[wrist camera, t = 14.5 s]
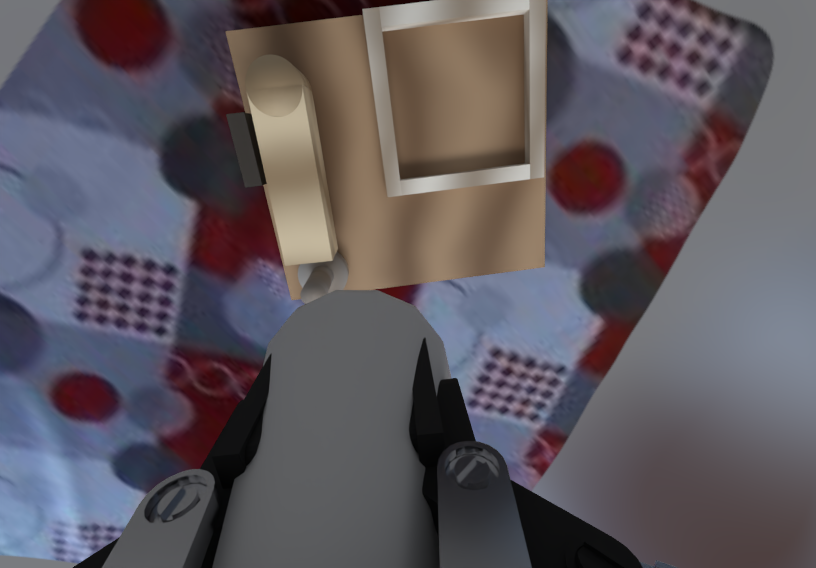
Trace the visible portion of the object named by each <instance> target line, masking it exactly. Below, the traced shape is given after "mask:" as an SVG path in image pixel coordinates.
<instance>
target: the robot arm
mask: <svg viewBox="0 0 816 568" xmlns="http://www.w3.org/2000/svg"><path fill="white" fill-rule="evenodd" d="M271 356H272V354H270V355H269V357H268V359H267V360H266V362H265V364H264V366H263V367H262V369H261V371H260V373H259V375H258V376H257V378H256V380H255V382H254V383H253V385H252V387H251V389H250V390H249V392H248V394H247V396H246V397H245V399H244V400H242V401H240V402H239V404H238V405H237V407H236V408H235V410H234V412H233V413H232V415H231V417H230V419H229V420H228V422H227V424H226V425H225V427H224V429H223V431H222V432H221V434H220V436H219V437H218V439H217V441H216V443H215V444H214V446H213V448H212V449H211V451H210V453H209V455H208V456H207V458H206V460H205V461H204V463H203V465H202V466H201V468H200V469H194V470H188V471H184V472H180V473H178V474H176V475H174V476H171V477H169V478H167V479H166V480H164V481H163V482H161V483H160V484H158V485H157V486H156V487H155V488H153V489H152V490H151V491H150V492H149V493H148V494H147V495H146V496H145V498H144V499H143V500H142V501H141V503H140V504H139V506H138V507H137V509H136V511H135V512H134V514H133V516H132V518H131V519H130V521H129V523H128V524H127V526H126V528H125V529H124V531H123V533H122V534H121V536H120V537H119V538H118V539H116V540H115V541H113V542H111V543H110V544H108V545H107V546H105V547H104V548H102V549H101V550H99V551H98V552H96V553H94V554H93V555H91V556H90V557H88V558H87V559H85V560H84V561H82V562H81V563H79V564H77V565H76V566H74V567H73V568H212V567H213V563H214V559H215V555H216V551H217V547H218V543H219V539H220V535H221V531H222V527H223V523H224V519H225V515H226V511H227V507H228V503H229V499H230V495H231V491H232V487H233V483H234V479H235V478H237V477H238V476H240V475H241V474H243V473H244V472H245V469H246V466H247V465H248V464H250V462H251V461H252V460H253V458H254V456H255V455H256V452H257V449H258V445H259V442H260V438H261V434H262V422H263V411H264V407H265V404H266V400H267V397H268V394H269V384H270V370H271ZM412 391H413V406H412V412H411V418H410V423H409V435H410V439H411V442H412V445H413V447H414V449H415V451H416V452H417V453H418V454H419V461H420V462H421V464H422V465H423V466H424V467H425V473H424V479H423V486H422V494H423V496H424V498H425V500H426V501H427V503H428V505H429V507H430V509H431V513H432V517H433V522H434V526H435V529H436V532H437V534H438V537H439V555H440V568H677V567H674V566H672V565H668V564H665V563H662V562H660V561H657V560H656V562H655V566H651V565H648V564H645V563H642V562H639V560H638V559H637V558H636V557H635V556H634V555H633V554H632V552H631V551H630V550H629V549H628V548H627V547H626V546H624V545H623V544H621V543H620V542H619V541H617V540H616V539H614V538H613V537H611V536H609V535H608V534H606V533H604V532H602V531H600V530H599V529H597V528H595V527H593V526H592V525H590V524H588V523H586V522H585V521H583V520H581V519H579V518H578V517H576V516H574V515H572V514H570V513H569V512H567V511H565V510H563V509H562V508H560V507H558V506H556V505H554V504H552V503H551V502H549V501H547V500H546V499H544V498H542V497H540V496H539V495H537V494H535V493H533V492H531V491H530V490H528V489H526V488H524V487H523V486H521V485H519V484H517V483H515V482H514V481H512V480H510V476H509V472H508V468H507V465H506V462H505V460H504V458H503V456H502V455H501V454H500V453H499V452H498V451H497V450H496V449H494V448H493V447H491V446H489V445H487V444H484V443H481V442H477V441H475V437H474V434H473V430H472V427H471V424H470V420H469V417H468V413H467V410H466V407H465V403H464V400H463V396H462V393H461V390H460V386H459V383H458V380H457V378H452V379H442V380H440V382H439V386H438V392H437V395H436V390H435V385H434V380H433V374H432V369H431V364H430V359H429V353H428V348H427V343H426V338H424V339H423V341H422V345H421V349H420V352H419V356H418V360H417V365H416V371H415V376H414V382H413V387H412Z"/></svg>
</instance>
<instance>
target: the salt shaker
mask: <svg viewBox="0 0 816 568" xmlns="http://www.w3.org/2000/svg"><path fill="white" fill-rule="evenodd" d="M424 338H426V343H427V348H428V353H429V359H430V364H431V369H432V374H433V380H434V385H435V390H436V395H437V392H438V386H439V382H440V380H442V379H451V374H450V370H449V365H448V361H447V357H446V352H445V348H444V344H443V341H442V340H441V338H440V337H439V335H438V334H437V333H436V332H435V330H434V329H433V328H432V327H431V325H430V324H429V323H428V322H427V320H426V319H425V318H424V317H423V315H422V314H421V313H420V312H419V310H418V309H417V308H416V307H415V306H413V305H411V304H409V303H406V302H404V301H402V300H399V299H397V298H394V297H392V296H390V295H387V294H385V293H382V292H380V291H378V290H334V291H332V292H330V293H328V294H326V295H324V296H322V297H320V298H318V299H315V300H313V301H311V302H309V303H307V304H305V305H303V306H301V307H299V308H298V309H297V310H295V311H294V312H293V313H292V315H291V316H290V317H289V318H288V320H287V321H286V322H285V323H284V325H283V326H282V327H281V328H280V330H279V331H278V332H277V333H276V335H275V336H274V337H273V338H272V340H271V341H270V342H269V344H268V348H267V352H266V356H265V360H264V364H265V362H266V360H267V359H268V357H269V355H270V354H272V356H271V370H270V384H269V394H268V397H267V400H266V404H265V407H264V411H263V422H262V434H261V438H260V442H259V445H258V449H257V452H256V455H255V456H254V458H253V460H252V461H251V462H250V464H248V465H247V466H246V469H245V472H244V473H243V474H241V475H240V476H238V477H237V478H235V479H234V483H233V487H232V491H231V495H230V499H229V503H228V507H227V511H226V515H225V519H224V523H223V527H222V531H221V535H220V539H219V543H218V547H217V551H216V555H215V559H214V563H213V567H212V568H440V555H439V537H438V534H437V532H436V529H435V526H434V522H433V517H432V513H431V509H430V507H429V505H428V503H427V501H426V500H425V498H424V496H423V494H422V486H423V479H424V473H425V467H424V466H423V465H422V464H421V462H420V461H419V454H418V453H417V452H416V451H415V449H414V447H413V445H412V442H411V439H410V435H409V423H410V418H411V412H412V406H413V391H412V387H413V382H414V376H415V371H416V365H417V360H418V356H419V352H420V349H421V345H422V341H423V339H424ZM264 364H263V366H264Z"/></svg>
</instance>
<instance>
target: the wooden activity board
mask: <svg viewBox="0 0 816 568" xmlns="http://www.w3.org/2000/svg"><path fill="white" fill-rule="evenodd" d="M362 10H363V15H357V16H349V17H341V18H332V19H324V20H316V21H307V22H299V23H291V24H283V25H274V26H266V27H258V28H250V29H241V30H233V31H226V35H227V39H228V44H229V48H230V52H231V56H232V60H233V64H234V68H235V72H236V76H237V80H238V84H239V88H240V92H241V96H242V100H243V104H244V109H245V112H242V113H234V114H226V116H227V120H228V123H229V127H230V131H231V135H232V139H233V142H234V146H235V150H236V154H237V158H238V161H239V165H240V169H241V173H242V177H243V180H244V184H245V187H253V186H261V185H263V186H264V190H265V194H266V198H267V202H268V206H269V210H270V214H271V218H272V222H273V226H274V230H275V234H276V238H277V242H278V247H279V251H280V255H281V259H282V263H283V267H284V271H285V275H286V279H287V283H288V287H289V291H290V295H291V299H292V300H297V299H302V301H303V302H304V303H305V304H307V303H309V302H311V301H313V300H315V299H318V298H320V297H322V296H324V295H326V294H328V293H330V292H332V291H334V290H373V289H381V288H389V287H396V286H404V285H411V284H419V283H427V282H434V281H442V280H450V279H457V278H465V277H473V276H480V275H488V274H495V273H503V272H511V271H518V270H526V269H534V268H541V267H545V178H546V84H547V0H434V1H426V2H417V3H409V4H401V5H393V6H384V7H376V8H368V9H362ZM263 55H277V56H280V57H283V58H284V59H286V60H287V61H289V62H290V63H291V64H292V65H293V66H294V67H296V68H297V69H298V70H299V71H300V72H301V73H302V74H303V75H304V76H305V77H306V78H307V80H308V81H309V83H310V86H311V89H312V94H313V100H314V106H315V113H316V119H317V125H318V131H319V137H320V143H321V149H322V155H323V161H324V167H325V173H326V179H327V185H328V191H329V197H330V203H331V209H332V215H333V221H334V227H335V233H336V239H337V245H338V250H337V252H336V254H335V256H334V259H333V261H326V262H317V263H307V264H298V265H289V266H285V264H284V259H283V254H282V250H281V245H280V241H279V236H278V232H277V227H276V223H275V218H274V214H273V209H272V205H271V200H270V196H269V191H268V186H267V182H266V177H265V173H264V168H263V164H262V159H261V155H260V150H259V146H258V141H257V137H256V132H255V128H254V123H253V118H252V114H251V109H250V105H249V100H248V96H247V91H246V86H245V78H246V73H247V70H248V68H249V66H250V65H251V63H252V62H253V61H254V60H255V59H257V58H259V57H260V56H263Z"/></svg>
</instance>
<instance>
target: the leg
mask: <svg viewBox="0 0 816 568" xmlns="http://www.w3.org/2000/svg"><path fill="white" fill-rule="evenodd" d="M245 86H246V91H247V96H248V100H249V105H250V109H251V114H252V118H253V123H254V128H255V132H256V137H257V141H258V146H259V150H260V155H261V159H262V164H263V168H264V173H265V177H266V182H267V186H268V191H269V196H270V200H271V205H272V209H273V214H274V218H275V223H276V227H277V232H278V236H279V241H280V245H281V250H282V254H283V259H284V264H285V266H289V265H298V264H307V263H317V262H326V261H333V259H334V256H335V254H336V252H337V250H338V245H337V239H336V233H335V227H334V221H333V215H332V209H331V203H330V197H329V191H328V185H327V179H326V173H325V167H324V161H323V155H322V149H321V143H320V137H319V131H318V125H317V119H316V113H315V106H314V100H313V94H312V89H311V86H310V83H309V81H308V80H307V78H306V77H305V76H304V75H303V74H302V73H301V72H300V71H299V70H298V69H297V68H296V67H294V66H293V65H292V64H291V63H290V62H289V61H287V60H286V59H284V58H283V57H280V56H277V55H263V56H260V57H259V58H257V59H255V60H254V61H253V62H252V63H251V65H250V66H249V68H248V70H247V73H246V78H245Z"/></svg>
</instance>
